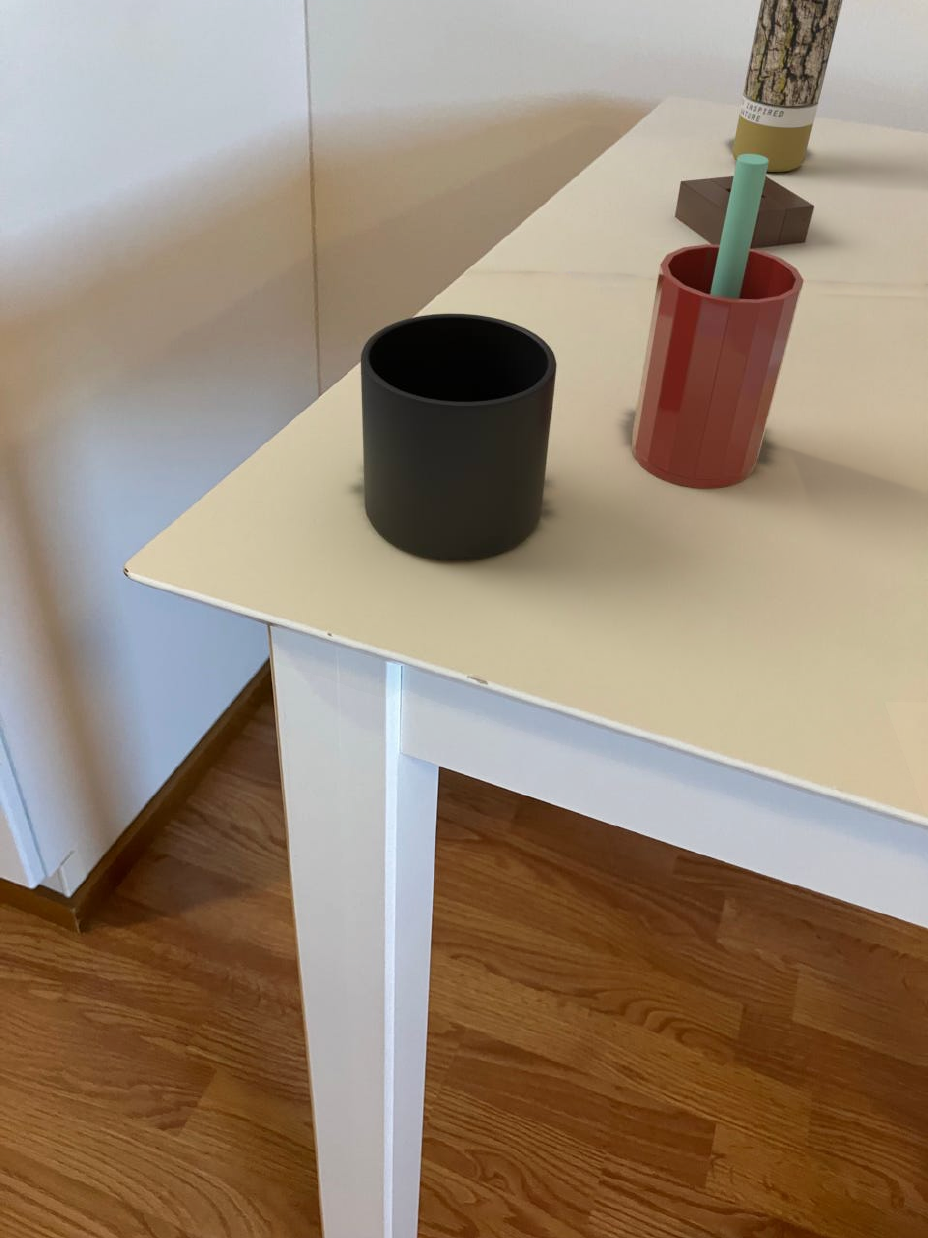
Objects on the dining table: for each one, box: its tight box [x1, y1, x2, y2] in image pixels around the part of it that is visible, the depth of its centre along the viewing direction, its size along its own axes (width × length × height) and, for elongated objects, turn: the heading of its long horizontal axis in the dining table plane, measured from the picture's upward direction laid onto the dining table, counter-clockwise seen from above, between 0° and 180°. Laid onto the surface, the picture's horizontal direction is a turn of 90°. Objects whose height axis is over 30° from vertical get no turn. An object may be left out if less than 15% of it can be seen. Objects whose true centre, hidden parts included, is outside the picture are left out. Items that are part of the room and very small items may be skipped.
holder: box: [674, 175, 815, 250], centre depth 85 cm, size 8×8×4 cm
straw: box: [710, 154, 769, 299], centre depth 57 cm, size 2×2×16 cm
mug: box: [360, 313, 557, 562], centre depth 55 cm, size 9×12×9 cm
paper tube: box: [732, 0, 844, 173], centre depth 94 cm, size 7×7×25 cm
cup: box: [631, 243, 805, 489], centre depth 59 cm, size 7×7×11 cm
